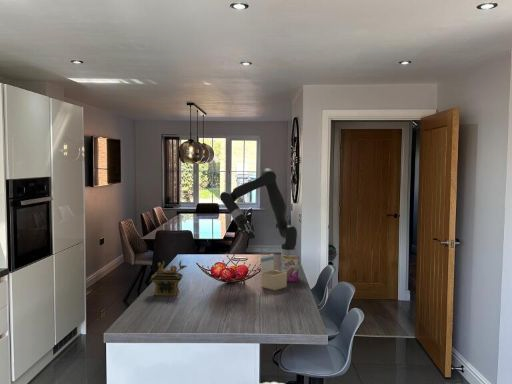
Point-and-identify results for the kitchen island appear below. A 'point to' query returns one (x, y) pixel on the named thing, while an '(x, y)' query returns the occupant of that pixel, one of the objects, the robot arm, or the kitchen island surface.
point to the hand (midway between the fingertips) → (252, 238)
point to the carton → (274, 280)
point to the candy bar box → (290, 267)
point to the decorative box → (167, 280)
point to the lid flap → (267, 263)
